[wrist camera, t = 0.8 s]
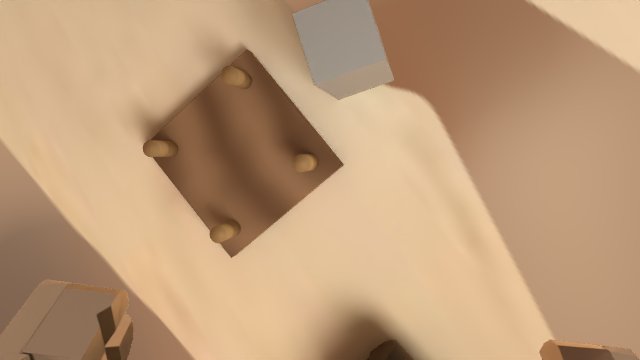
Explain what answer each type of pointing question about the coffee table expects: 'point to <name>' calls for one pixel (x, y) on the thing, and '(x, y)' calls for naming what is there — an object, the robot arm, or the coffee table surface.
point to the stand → (242, 154)
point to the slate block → (343, 47)
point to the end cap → (390, 352)
